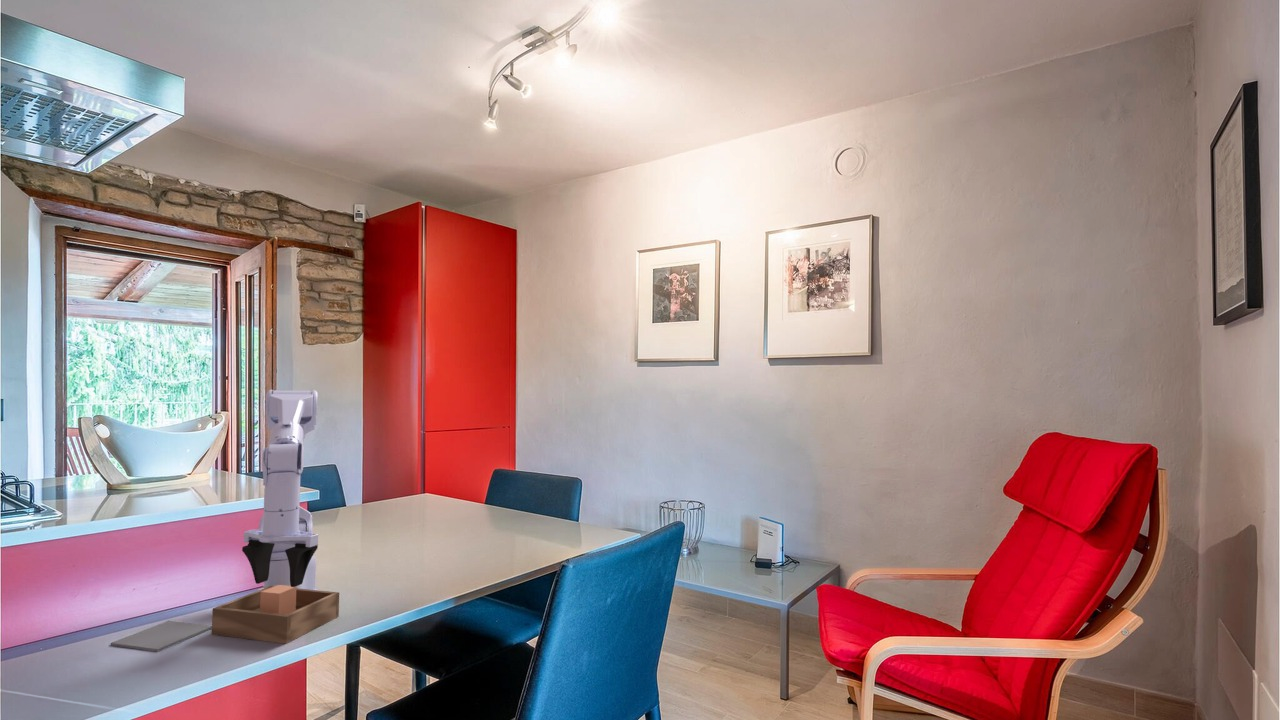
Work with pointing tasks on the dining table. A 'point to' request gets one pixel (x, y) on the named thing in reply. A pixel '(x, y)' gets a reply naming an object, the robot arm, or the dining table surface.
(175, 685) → the dining table surface
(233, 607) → the walnut box
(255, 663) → the dining table surface
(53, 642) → the dining table surface
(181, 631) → the slate mat
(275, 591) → the terracotta block
